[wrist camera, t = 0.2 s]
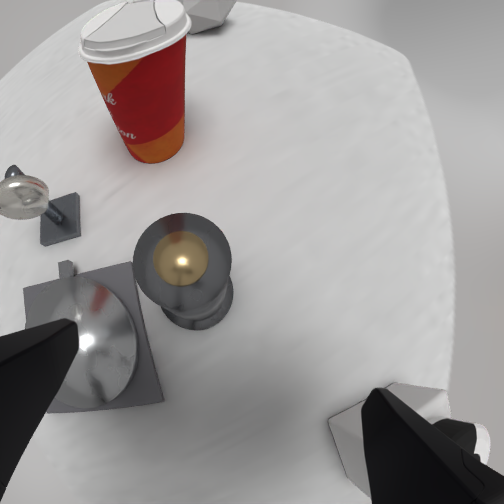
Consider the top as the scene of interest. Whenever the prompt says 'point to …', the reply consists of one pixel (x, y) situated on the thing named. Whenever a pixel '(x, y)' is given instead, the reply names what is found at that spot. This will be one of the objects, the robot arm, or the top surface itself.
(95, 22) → the paper cup
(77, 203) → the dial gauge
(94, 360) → the platter
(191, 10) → the die
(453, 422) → the medicine bottle
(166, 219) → the cylinder with brass cap
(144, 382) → the turntable base
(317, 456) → the top surface
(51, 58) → the top surface
